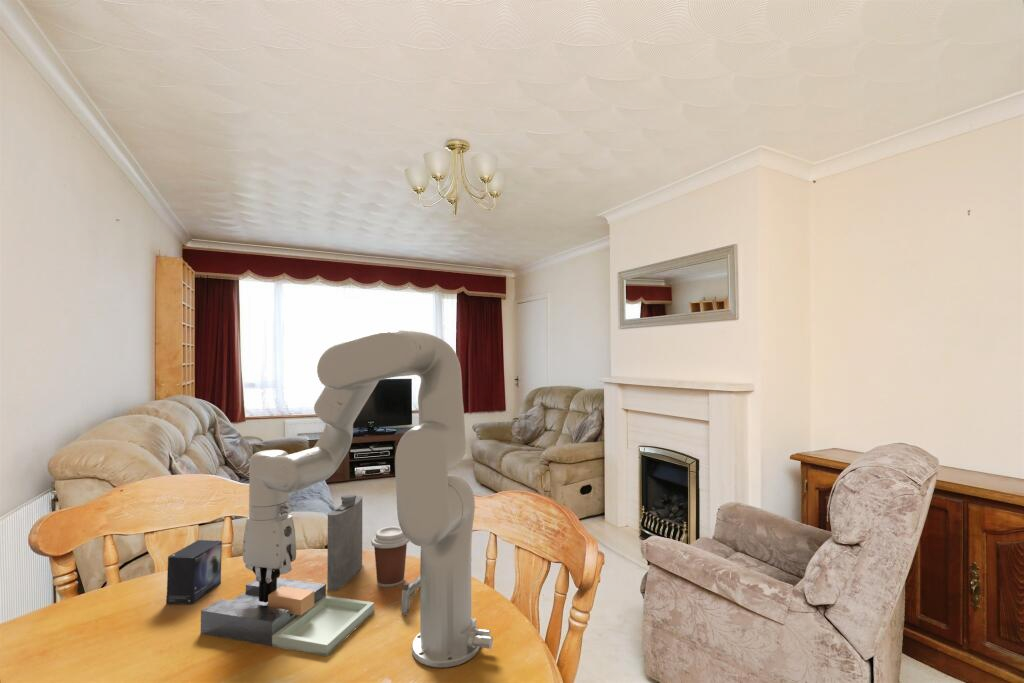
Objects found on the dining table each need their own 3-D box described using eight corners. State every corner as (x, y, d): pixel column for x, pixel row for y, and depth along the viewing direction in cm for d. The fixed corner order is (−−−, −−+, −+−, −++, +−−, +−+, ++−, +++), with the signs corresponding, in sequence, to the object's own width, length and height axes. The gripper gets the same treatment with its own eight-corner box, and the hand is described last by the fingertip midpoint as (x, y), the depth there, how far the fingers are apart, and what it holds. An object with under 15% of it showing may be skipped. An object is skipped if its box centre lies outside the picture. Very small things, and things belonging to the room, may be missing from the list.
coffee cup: (363, 587, 116) (364, 536, 116) (382, 571, 124) (382, 523, 125) (399, 591, 113) (399, 539, 114) (415, 574, 122) (415, 526, 123)
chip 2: (314, 605, 101) (314, 590, 101) (300, 615, 97) (301, 600, 98) (297, 603, 102) (297, 588, 103) (284, 612, 99) (284, 597, 99)
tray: (374, 612, 104) (374, 602, 104) (327, 656, 89) (327, 645, 89) (325, 604, 108) (325, 595, 108) (272, 646, 92) (272, 635, 92)
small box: (193, 605, 108) (194, 557, 108) (164, 605, 108) (165, 557, 109) (223, 583, 119) (223, 539, 119) (196, 583, 119) (197, 539, 119)
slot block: (325, 604, 108) (325, 584, 108) (272, 646, 92) (272, 622, 92) (262, 595, 112) (262, 575, 112) (200, 633, 97) (200, 610, 97)
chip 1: (298, 602, 102) (298, 588, 103) (284, 612, 99) (284, 597, 99) (282, 600, 104) (282, 586, 104) (267, 610, 100) (268, 595, 100)
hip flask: (352, 562, 130) (352, 486, 131) (367, 562, 130) (367, 486, 131) (325, 590, 114) (325, 504, 115) (341, 591, 114) (342, 504, 115)
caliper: (406, 617, 103) (406, 587, 103) (401, 617, 103) (401, 587, 103) (429, 574, 123) (429, 549, 123) (425, 574, 123) (425, 549, 123)
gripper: (311, 507, 104) (310, 595, 104) (253, 502, 108) (252, 586, 108) (286, 519, 97) (285, 613, 97) (225, 512, 101) (224, 603, 101)
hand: (267, 598), depth 102 cm, fingers closed
